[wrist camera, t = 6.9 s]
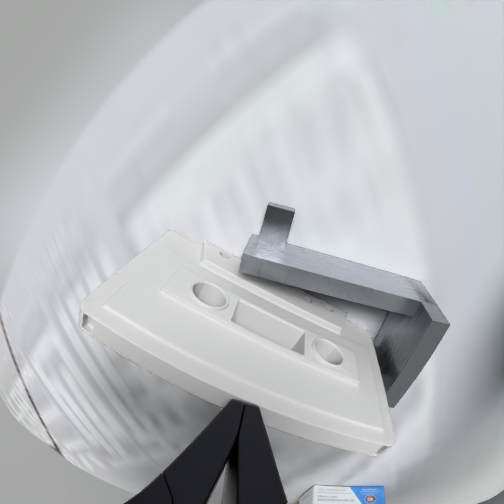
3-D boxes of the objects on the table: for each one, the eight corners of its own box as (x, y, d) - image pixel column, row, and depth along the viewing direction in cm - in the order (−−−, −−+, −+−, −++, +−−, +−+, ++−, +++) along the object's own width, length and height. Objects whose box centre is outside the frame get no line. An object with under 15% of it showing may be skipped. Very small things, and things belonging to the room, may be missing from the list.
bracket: (433, 252, 13) (469, 288, 9) (368, 377, 16) (377, 426, 13) (260, 199, 13) (245, 223, 10) (226, 344, 17) (207, 393, 13)
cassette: (376, 324, 15) (407, 440, 8) (356, 347, 16) (373, 463, 9) (173, 219, 15) (75, 292, 8) (161, 250, 15) (71, 333, 8)
